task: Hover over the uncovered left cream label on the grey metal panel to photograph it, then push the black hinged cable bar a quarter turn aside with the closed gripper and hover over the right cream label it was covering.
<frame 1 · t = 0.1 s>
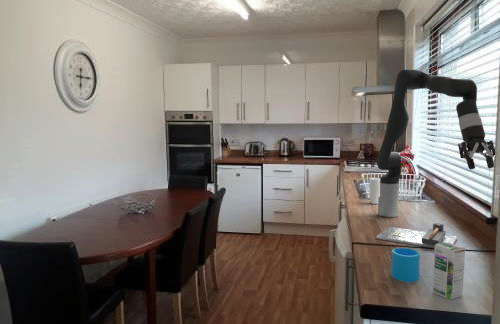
hand: (481, 168, 143), 31 cm above the table, tool tilted 20°, fingers open, 8 cm apart
cable arm: (434, 233, 157), point 4 cm above the table, hinge at 0.0°
mug: (403, 275, 124), on the table
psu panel: (416, 238, 161), on the table
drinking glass: (374, 203, 230), on the table
syrup box: (447, 295, 110), on the table
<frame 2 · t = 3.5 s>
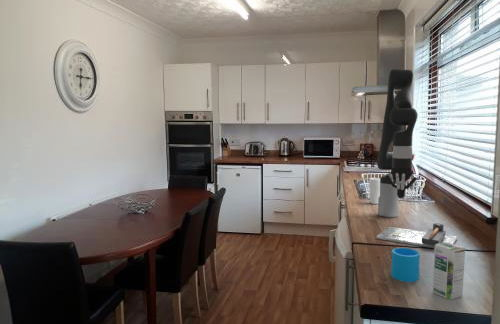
hand: (400, 198, 161), 17 cm above the table, tool pointing down, fingers closed
nothing on the table moved.
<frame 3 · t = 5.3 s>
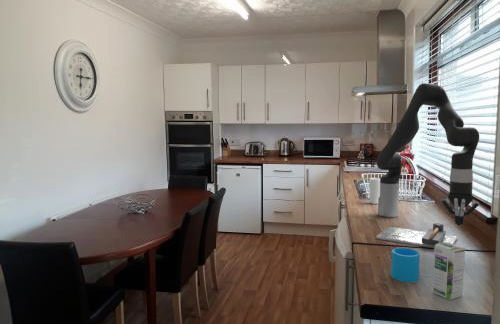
hand: (459, 225, 147), 9 cm above the table, tool pointing down, fingers closed
nothing on the table moved.
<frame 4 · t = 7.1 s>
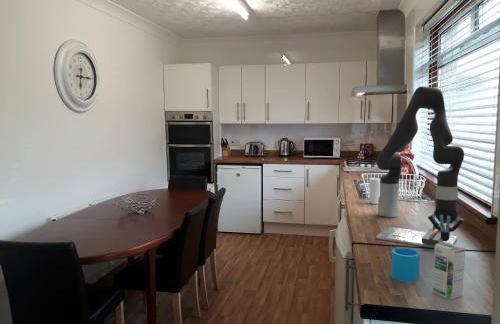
hand: (444, 240, 151), 2 cm above the table, tool pointing down, fingers closed
cable arm: (434, 233, 157), point 4 cm above the table, hinge at 0.0°, touching gripper
everything else where it was.
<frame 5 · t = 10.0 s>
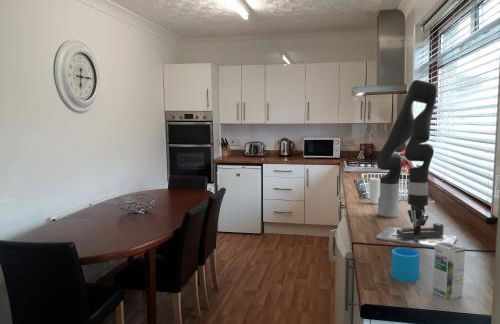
hand: (417, 235, 157), 3 cm above the table, tool pointing down, fingers closed
cable arm: (421, 229, 162), point 4 cm above the table, hinge at -47.8°, touching gripper
everything else where it was.
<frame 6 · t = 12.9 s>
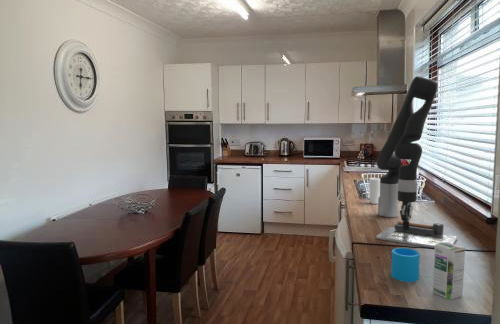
hand: (406, 229, 165), 3 cm above the table, tool pointing down, fingers closed
cable arm: (419, 226, 167), point 4 cm above the table, hinge at -89.1°
everything else where it was.
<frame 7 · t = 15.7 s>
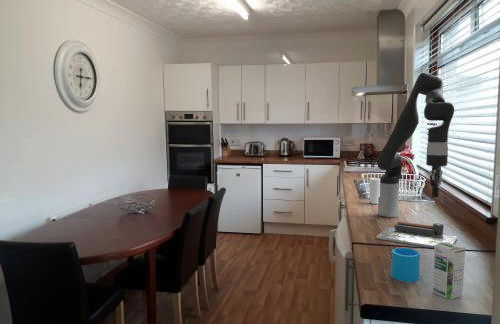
hand: (435, 196, 153), 19 cm above the table, tool pointing down, fingers closed
nothing on the table moved.
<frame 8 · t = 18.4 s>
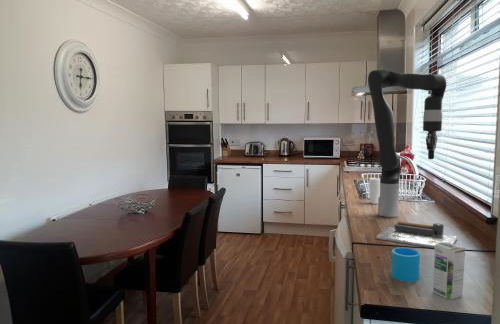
hand: (430, 159, 173), 32 cm above the table, tool pointing down, fingers closed
nothing on the table moved.
at the end: cable arm at -89° (first picture: +0°) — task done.
